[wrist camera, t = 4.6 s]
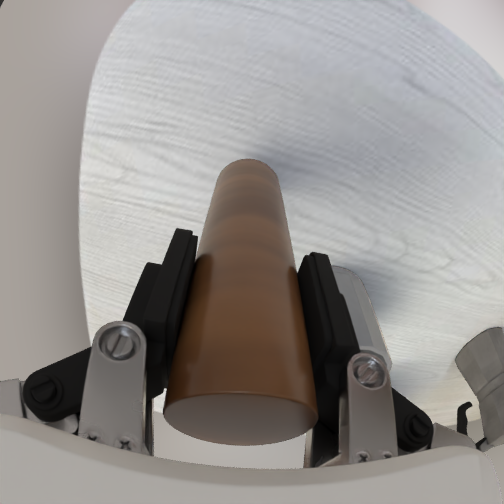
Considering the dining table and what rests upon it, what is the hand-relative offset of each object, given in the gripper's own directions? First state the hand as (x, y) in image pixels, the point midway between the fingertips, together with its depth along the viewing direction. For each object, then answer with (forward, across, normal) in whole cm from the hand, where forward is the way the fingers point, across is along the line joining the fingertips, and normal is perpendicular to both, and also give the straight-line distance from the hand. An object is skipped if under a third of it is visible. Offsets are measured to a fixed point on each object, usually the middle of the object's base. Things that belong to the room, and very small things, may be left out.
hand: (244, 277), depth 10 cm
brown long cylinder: (+8, 0, 0) cm, 8 cm away
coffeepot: (+10, -36, +16) cm, 41 cm away
